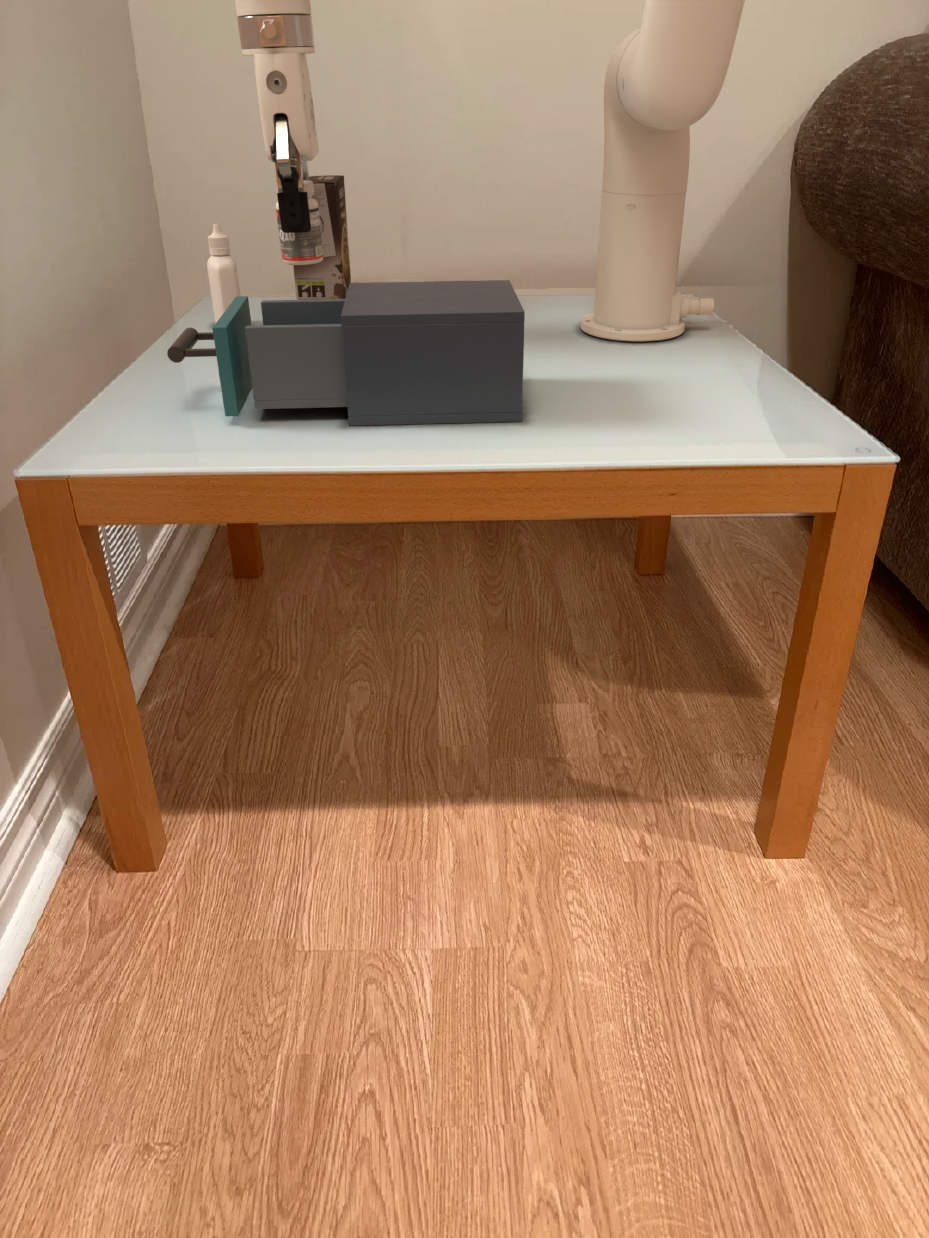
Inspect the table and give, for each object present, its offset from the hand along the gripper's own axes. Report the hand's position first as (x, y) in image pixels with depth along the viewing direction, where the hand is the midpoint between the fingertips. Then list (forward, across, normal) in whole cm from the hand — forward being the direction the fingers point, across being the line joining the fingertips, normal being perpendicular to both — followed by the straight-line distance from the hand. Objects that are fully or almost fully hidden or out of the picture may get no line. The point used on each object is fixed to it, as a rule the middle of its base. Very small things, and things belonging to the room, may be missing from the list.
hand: (299, 226), depth 104 cm
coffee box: (+13, +15, 0) cm, 20 cm away
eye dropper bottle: (+12, +7, +11) cm, 18 cm away
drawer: (+12, -25, 0) cm, 28 cm away
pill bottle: (+4, 0, 0) cm, 4 cm away
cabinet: (+13, -25, -14) cm, 31 cm away
